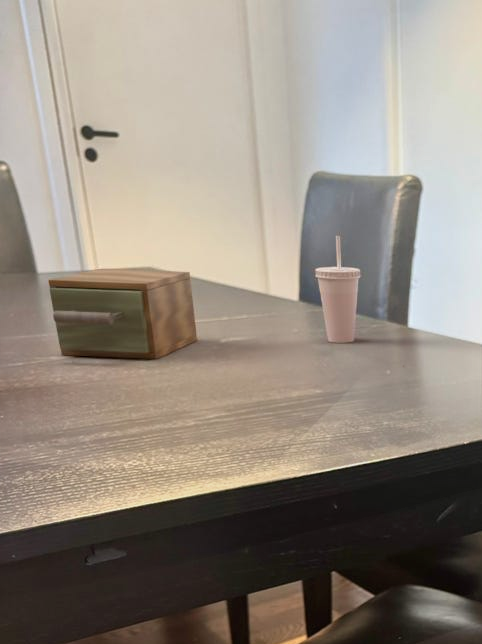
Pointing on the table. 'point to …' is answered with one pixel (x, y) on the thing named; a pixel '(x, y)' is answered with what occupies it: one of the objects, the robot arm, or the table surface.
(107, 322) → the drawer
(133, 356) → the cabinet
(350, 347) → the table surface
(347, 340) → the smoothie
